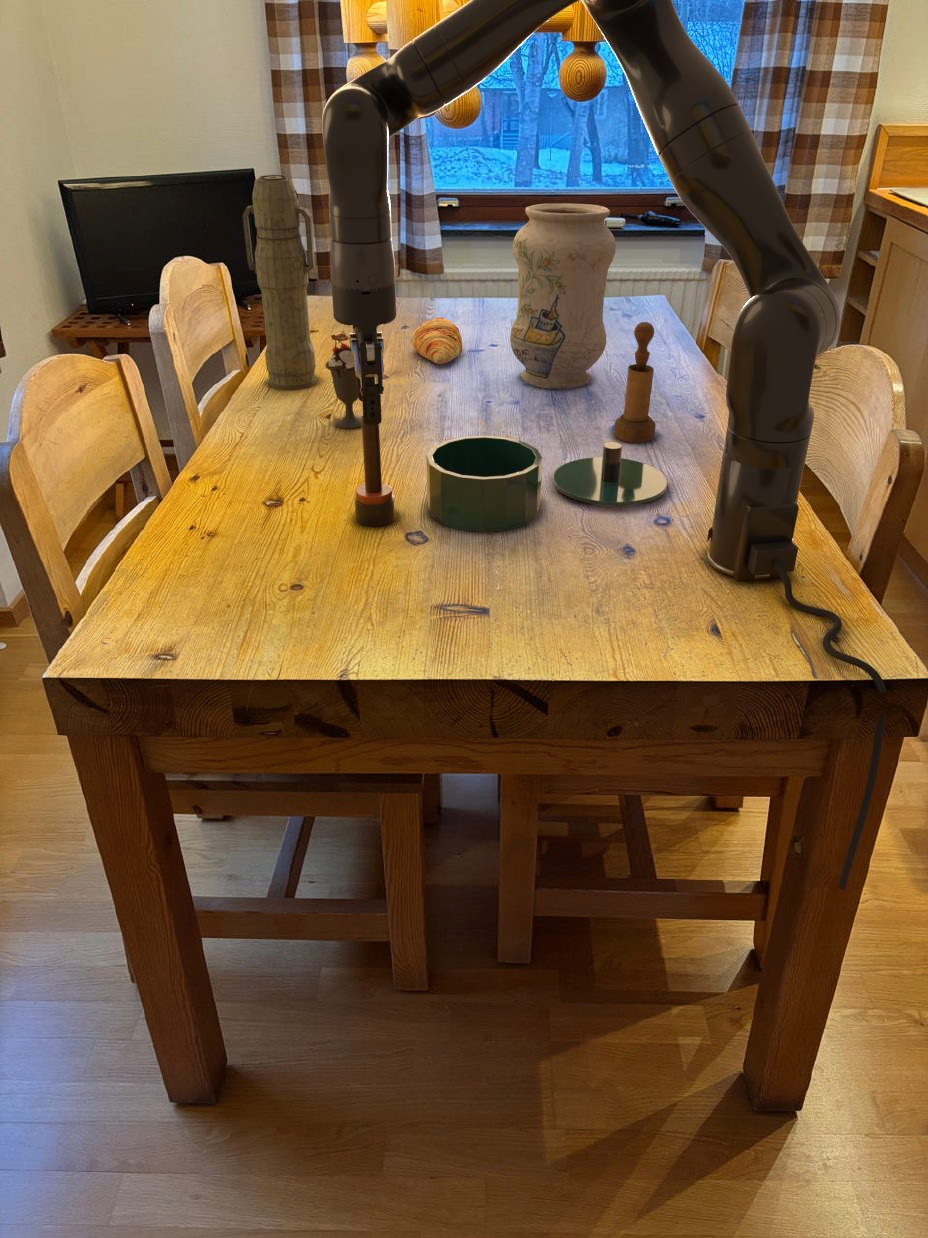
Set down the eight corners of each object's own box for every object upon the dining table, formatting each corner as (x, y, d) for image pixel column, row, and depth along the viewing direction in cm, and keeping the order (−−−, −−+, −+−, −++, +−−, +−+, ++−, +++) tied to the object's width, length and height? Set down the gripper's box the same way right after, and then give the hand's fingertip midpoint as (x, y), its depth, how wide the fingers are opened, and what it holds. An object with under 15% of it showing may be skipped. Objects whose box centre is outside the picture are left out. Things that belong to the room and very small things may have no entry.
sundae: (321, 426, 159) (314, 335, 151) (344, 414, 164) (338, 325, 156) (355, 433, 157) (349, 340, 149) (377, 420, 162) (373, 330, 154)
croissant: (456, 385, 188) (475, 348, 185) (410, 362, 185) (429, 325, 182) (445, 351, 206) (463, 318, 203) (403, 331, 203) (420, 296, 199)
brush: (396, 525, 128) (392, 422, 120) (357, 528, 127) (350, 425, 120) (392, 508, 132) (388, 408, 125) (354, 511, 131) (348, 410, 124)
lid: (682, 505, 133) (688, 463, 130) (568, 513, 131) (571, 471, 128) (645, 461, 147) (649, 422, 143) (541, 467, 144) (543, 428, 141)
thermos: (323, 389, 176) (306, 179, 157) (257, 389, 175) (233, 180, 157) (326, 374, 183) (311, 172, 165) (264, 374, 183) (242, 173, 165)
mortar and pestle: (653, 444, 153) (666, 329, 143) (612, 441, 154) (622, 327, 144) (655, 429, 158) (667, 318, 149) (615, 427, 159) (624, 316, 150)
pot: (550, 527, 127) (553, 474, 123) (436, 536, 125) (435, 482, 121) (525, 481, 140) (527, 432, 136) (421, 488, 138) (420, 439, 134)
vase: (545, 358, 192) (553, 195, 176) (623, 376, 182) (638, 205, 167) (489, 380, 180) (492, 207, 164) (569, 400, 170) (580, 219, 155)
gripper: (328, 266, 119) (337, 394, 127) (334, 294, 107) (343, 433, 115) (389, 265, 120) (393, 392, 128) (401, 291, 108) (405, 430, 116)
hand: (369, 411), depth 122 cm, fingers open, 8 cm apart
